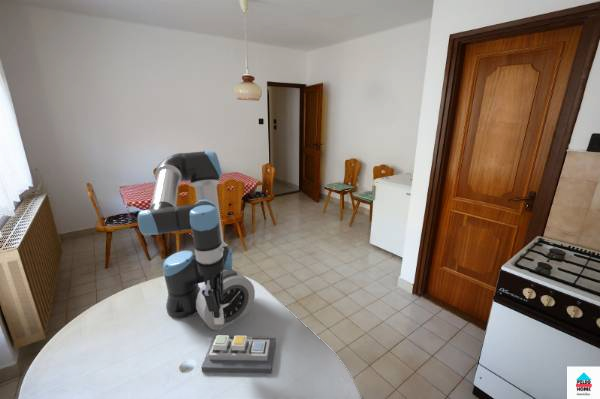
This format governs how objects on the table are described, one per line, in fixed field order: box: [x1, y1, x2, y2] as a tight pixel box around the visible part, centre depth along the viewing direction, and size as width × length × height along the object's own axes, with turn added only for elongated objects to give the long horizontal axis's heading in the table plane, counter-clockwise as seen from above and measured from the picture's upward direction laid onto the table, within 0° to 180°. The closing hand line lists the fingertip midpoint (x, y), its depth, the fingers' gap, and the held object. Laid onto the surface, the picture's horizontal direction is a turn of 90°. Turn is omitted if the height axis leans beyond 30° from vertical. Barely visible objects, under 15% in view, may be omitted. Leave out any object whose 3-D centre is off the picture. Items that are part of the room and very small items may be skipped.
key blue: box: [251, 342, 265, 354], centre depth 92 cm, size 4×4×2 cm
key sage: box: [213, 334, 230, 350], centre depth 92 cm, size 4×4×2 cm
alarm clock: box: [196, 269, 256, 331], centre depth 108 cm, size 21×8×20 cm, turn 132°
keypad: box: [201, 336, 277, 374], centre depth 93 cm, size 22×12×4 cm, turn 88°
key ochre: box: [232, 335, 248, 350], centre depth 92 cm, size 4×4×2 cm
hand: (219, 322), depth 89 cm, fingers closed
